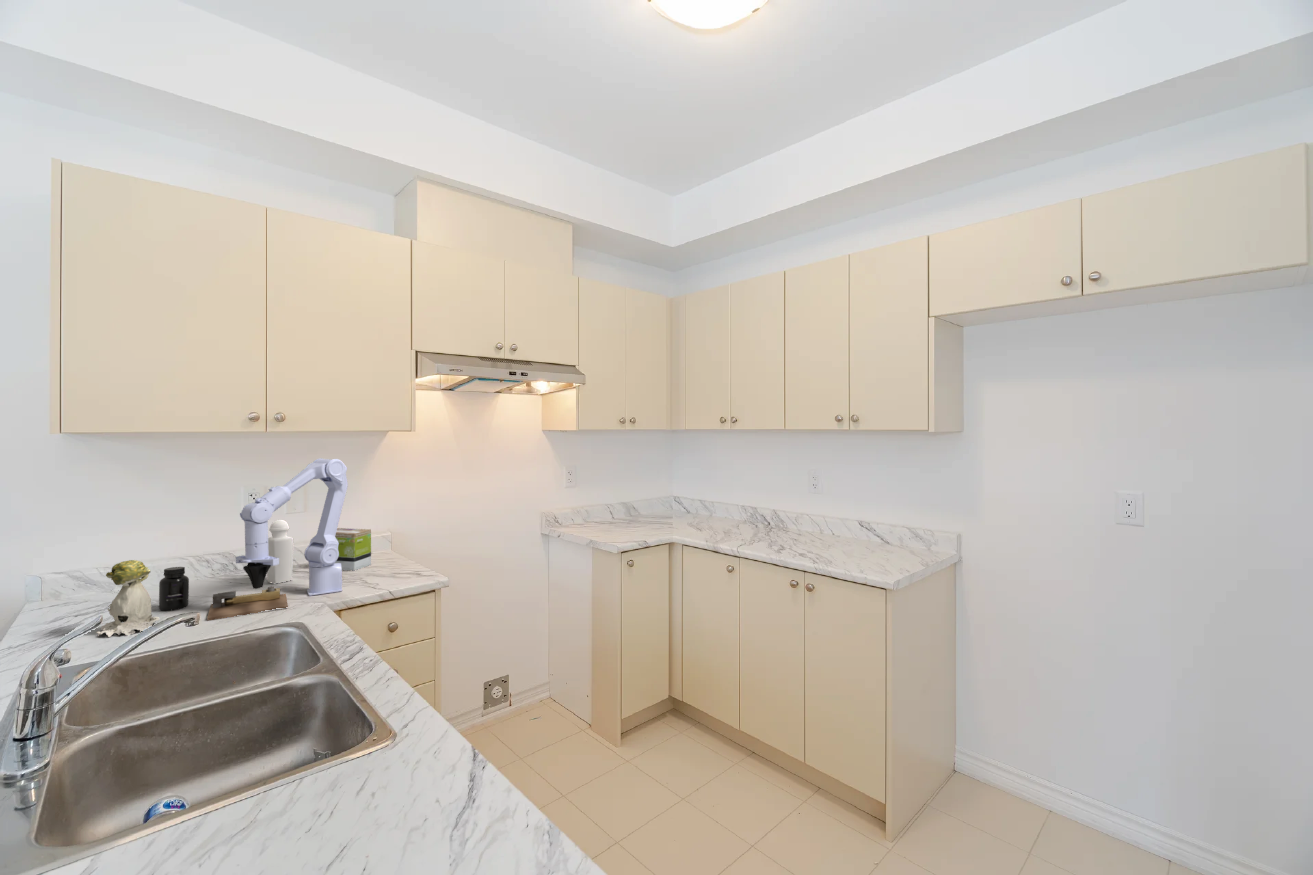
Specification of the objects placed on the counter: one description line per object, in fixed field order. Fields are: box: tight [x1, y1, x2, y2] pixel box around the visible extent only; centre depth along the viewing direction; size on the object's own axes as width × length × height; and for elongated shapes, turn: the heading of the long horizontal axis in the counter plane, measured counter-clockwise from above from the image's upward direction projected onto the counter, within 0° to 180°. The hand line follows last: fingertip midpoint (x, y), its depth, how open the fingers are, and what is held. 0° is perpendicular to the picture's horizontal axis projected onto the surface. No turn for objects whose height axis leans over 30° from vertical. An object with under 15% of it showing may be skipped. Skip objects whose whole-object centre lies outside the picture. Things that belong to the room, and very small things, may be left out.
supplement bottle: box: [158, 566, 190, 612], centre depth 170 cm, size 7×7×12 cm
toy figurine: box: [96, 559, 160, 638], centre depth 152 cm, size 12×13×18 cm
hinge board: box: [206, 585, 289, 622], centre depth 170 cm, size 19×16×4 cm
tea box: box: [335, 527, 372, 572], centre depth 221 cm, size 15×10×15 cm, turn 81°
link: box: [223, 587, 281, 605], centre depth 174 cm, size 14×5×2 cm, turn 123°
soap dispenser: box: [266, 519, 294, 584], centre depth 200 cm, size 6×6×22 cm
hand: (257, 587), depth 170 cm, fingers closed
